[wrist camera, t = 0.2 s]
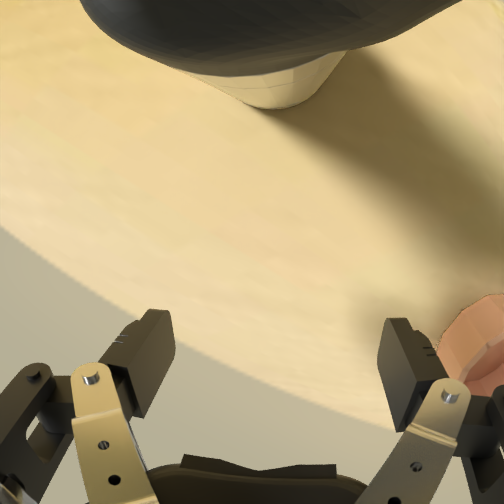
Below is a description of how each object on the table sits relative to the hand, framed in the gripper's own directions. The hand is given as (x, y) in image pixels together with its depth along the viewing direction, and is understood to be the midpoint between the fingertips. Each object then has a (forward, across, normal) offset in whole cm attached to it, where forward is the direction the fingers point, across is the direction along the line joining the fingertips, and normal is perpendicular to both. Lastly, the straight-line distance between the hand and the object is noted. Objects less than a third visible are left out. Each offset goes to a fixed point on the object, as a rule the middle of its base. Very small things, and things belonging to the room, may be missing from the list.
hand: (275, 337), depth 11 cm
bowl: (+18, -24, +14) cm, 33 cm away
